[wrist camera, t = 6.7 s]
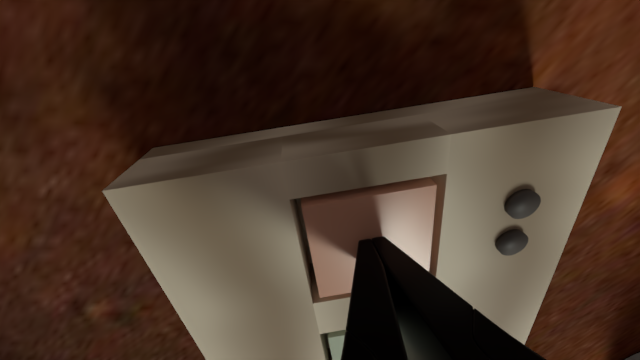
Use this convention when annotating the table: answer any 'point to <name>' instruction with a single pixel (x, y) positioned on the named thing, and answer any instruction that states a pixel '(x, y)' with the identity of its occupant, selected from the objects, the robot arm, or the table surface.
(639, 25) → the table surface
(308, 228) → the two-dot key
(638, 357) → the energy drink can
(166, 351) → the table surface
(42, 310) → the table surface
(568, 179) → the key panel
